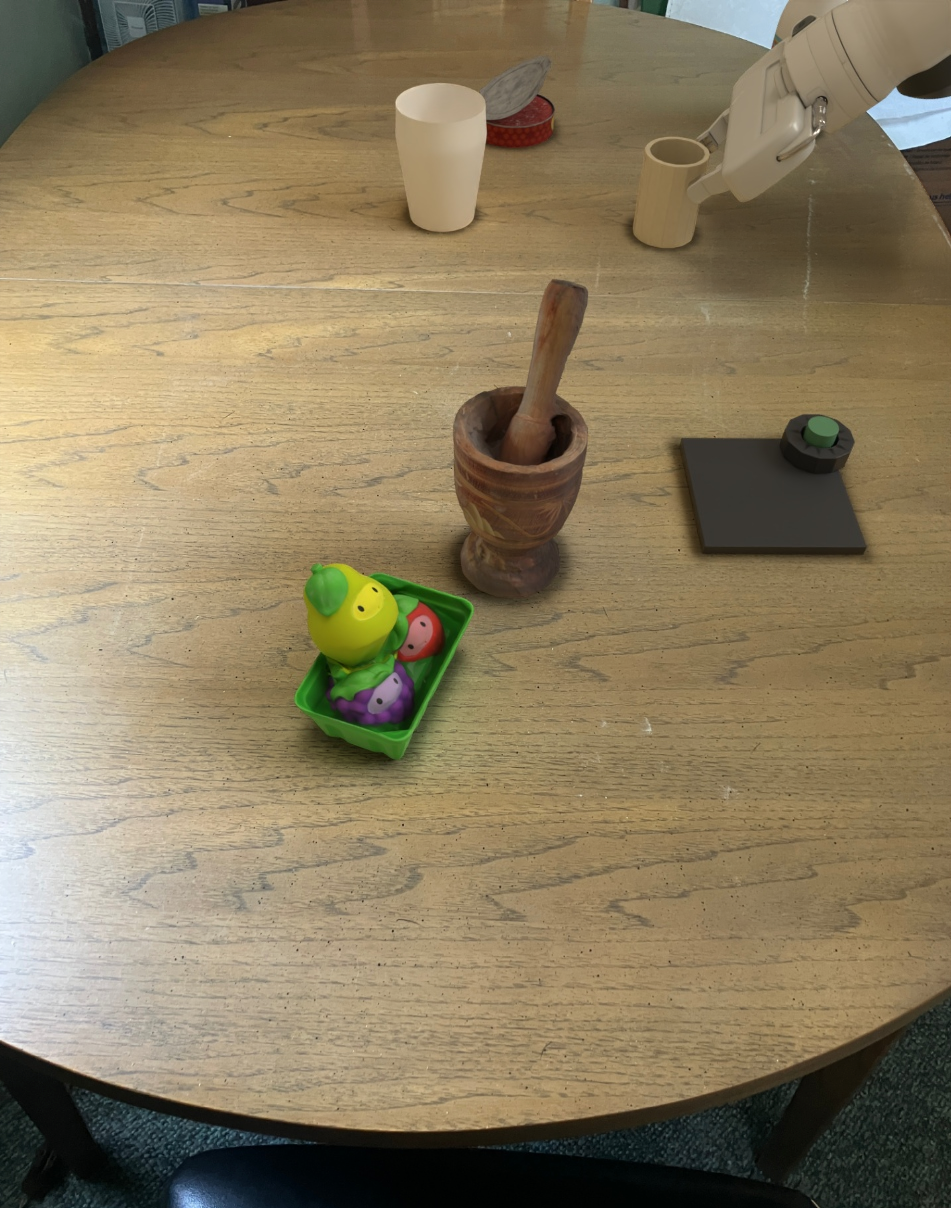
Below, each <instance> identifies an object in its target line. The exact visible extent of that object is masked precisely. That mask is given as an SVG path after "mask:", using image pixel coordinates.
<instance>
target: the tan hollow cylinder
mask: <svg viewBox="0 0 951 1208" xmlns="http://www.w3.org/2000/svg"><path fill="white" fill-rule="evenodd" d="M710 156H711V154H710V153H709V150H708V149H707V148H706V147H705V146H704V145H703V144H701V143H699V142H697V141H696V139H695V140H694V139H692V138H687V137H682V136H664V137H659V138H655V139H653V140H651V141H649V142H648V143H647V144H646V146H645V147H644V151H643V159H642V165H641V172H640V177H639V184H638V190H637V197H636V203H635V211H634V217H633V223H632V234H633V236H635V238H636V239H637V240H638V241H640V243H641V242H642V243H643V244H645V245H647V246H650V247H654V248H659V249H675V248H679V247H683V246H686V245H687V244H689V243H690V242H691V241H692V239H693V237H694V235H695V230H696V224H697V220H698V215H699V210H700V206H701V203H699V204H694V203H693V202H692V201H691V200H690V198H689V197H688V196H687V188H688V184H689V182H691V181H692V180H694V179H695V178H696V177H698V176H699V175H700V174H702V175H703V176H704V175H706V174H708V168H709V162H710Z"/></svg>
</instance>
